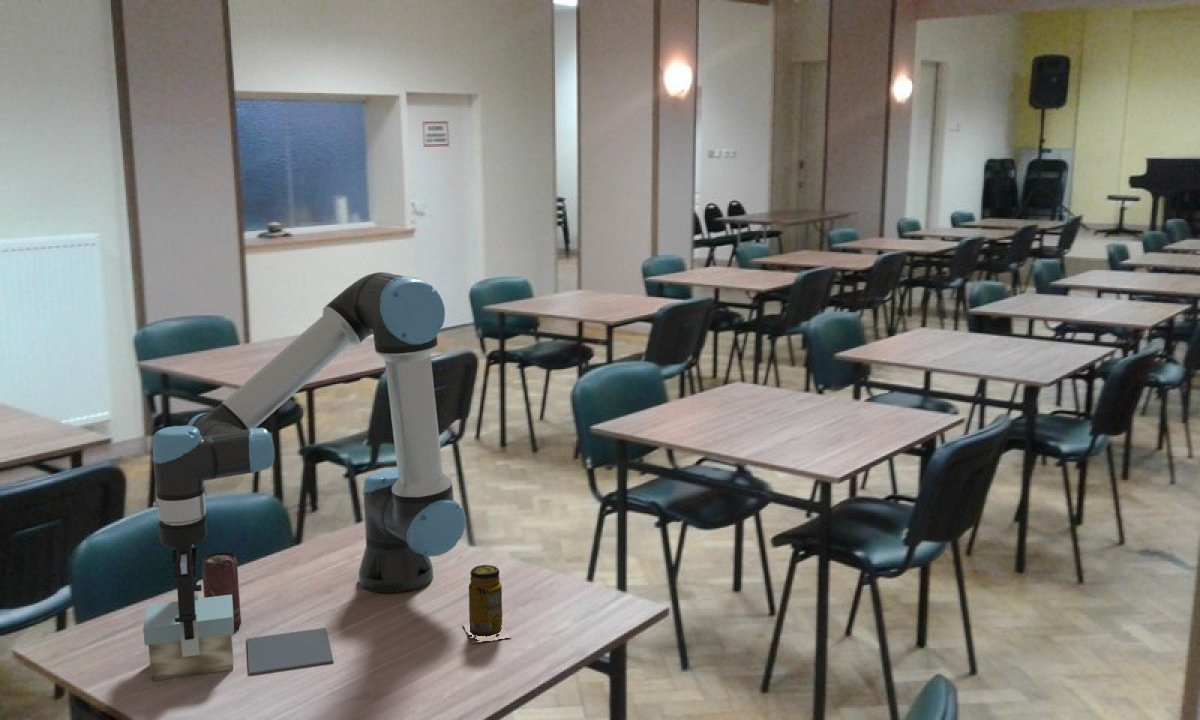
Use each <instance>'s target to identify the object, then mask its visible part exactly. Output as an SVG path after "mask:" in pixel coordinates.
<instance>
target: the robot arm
mask: <svg viewBox="0 0 1200 720" xmlns="http://www.w3.org/2000/svg"><path fill="white" fill-rule="evenodd" d="M322 309H323V310H322V316H321V317H319V318H318V319H317V320H316V321H315V322H313V323H312V324H311V325H310V326H309V327H308V328H307V329H306V330H305V331H303V332H302V333H301V334H300V335H298V337H297V338H296V339H294V340H293V341H292V342H290V344H288V345H287V346H286V347H285V348H284V349H282V350H281V351H280V352H279V353H278V354H277V355H275V356H274V358H272V359H271V360H270V361H268V363H266V364H265V365H264V366H263V367H262V368H260V369H259V371H257V372H256V373H255V374H253V376H252V377H250V378H249V379H248V380H247V381H246V382H245V383H243V384H242V385H241V386H240V387H239V388H237V389H236V390H235V391H234V392H233V393H231V395H229V396H228V397H227V398H226V399H225V400H224V401H222V402H221V403H220V404H219V405H217V406H216V407H215V408H214V409H213V410H212V411H210V412H202V413H199V414H197V415H195V416H193V417H192V418H191V419H190V420H189V422H188V423H187V425H173V426H168V427H163V428H161V429H159V430H157V431H156V432H155V433H154V434H153V436H152V457H151V459H152V460H151V461H153V472H154V480H155V491H156V501H154V502H153V503H152V506H153V508H157V516H158V520H159V523H158V532H159V533H158V536H159V542H160V543H161V545H163V546H165V547H168V548H169V547H170V548H174V549H172V555H171V561H172V564H173V566H174V567H173V571H174V580H175V581H176V587H177V601H178V608H179V617H178V618H175V622H180V635H181V648H182V657H187V656H194V655H199V639H198V626H197V617H196V614H195V599H199V592H202V590H203V587H202V584H198V577H197V575H198V574H197V573H198V572H197V567H198V556H199V554H198V553H199V552H198V547H197V546H194V545H199V544H200V543H202V542H204V541H205V540H206V539H207V537H208V526H207V518H206V517H205V515H206V512H207V511H206V494H205V487H204V483H205V482H206V481H211V480H216V479H223V478H228V477H229V478H230V477H235V476H241V475H247V474H254V473H257V472H262V471H265V470H269V469H270V468H271V467H272V466H273V463H274V461H275V446H274V441H273V438H272V435H271V433H270V432H269V430H268V429H266V428H264V427H259V425H261V424H262V423H263V422H264V421H265V420H267V418H269V417H270V416H271V415H272V414H273V413H275V411H277V409H279V408H280V407H281V406H282V405H283V404H285V403H286V402H287V401H288V400H290V399H291V397H293V396H294V395H295V394H296V393H297V392H299V390H300V389H302V387H304V386H306V384H307V383H309V381H310V380H312V379H313V378H314V377H316V375H318V374H319V373H320V372H321V371H322V370H323V369H324V368H326V366H328V365H329V364H330V363H331V362H332V361H334V360H335V358H337V357H338V356H339V355H340V354H341V353H343V352H344V351H345V350H346V349H347V348H348V347H349V346H358V345H360V344H361V343H362V342H363V341H364V340H365V339H366V338H368V337H370V336H372V335H373V343H374V350H375V351H374V352H375V353H376V354H377V355H378V356H380V357H381V358H383V360H384V365H385V366H384V367H385V372H386V373H385V375H386V383H387V390H388V391H387V393H388V398H389V400H388V401H389V408H390V409H389V410H390V415H391V416H390V417H391V426H392V435H393V442H394V449H395V450H394V451H395V460H396V469H395V468H394V469H388V470H383V471H377V472H374V473H371V474H369V475H368V476H366V478H365V479H364V481H363V492H362V495H363V506H364V507H363V508H364V525H365V543H366V544H365V545H366V546H365V548H364V553H363V555H362V559H361V562H360V567H359V568H358V569H359V570H358V583H359V585H360V586H361V587H362V588H364V590H367V591H370V592H375V593H383V594H394V593H396V594H398V593H404V592H405V593H406V592H411V591H414V590H417V589H420V588H422V587H424V586H427V585H429V583H431V582H432V580H433V578H434V566H433V564H432V561H431V557H438V556H442V555H444V554H446V553H448V552H450V551H451V550H452V549H453V548H455V547H456V546H457V544H458V542H459V541H460V540H461V539H462V537H463V535H464V533H465V531H466V524H467V521H466V520H467V518H466V514H465V511H464V509H463V508H462V506H461V505H460V504H459V503H458V502H456V500H454V499H455V498H454V489H453V481H452V478H450V477H449V476H448V475H447V474H445V473H444V471H443V470H444V469H443V461H442V452H441V451H442V450H441V441H440V433H439V424H438V414H437V404H436V402H437V401H436V394H435V385H434V376H433V375H434V373H433V366H432V365H433V364H432V357H431V356H432V353H433V352H435V350H436V348H437V347H438V343H439V342H438V334H440V330H441V328H443V326H444V322H445V317H446V310H445V305H444V301H443V299H442V297H441V295H440V293H439V291H437V290H436V288H435V287H433V286H432V285H431V284H429V283H428V282H426V281H423V280H421V279H419V278H417V277H414V276H408V275H407V276H406V275H399V274H393V273H390V272H386V271H385V272H384V271H383V272H381V271H379V272H374V273H370V274H367V275H365V276H363V277H361V278H359V279H357V280H356V281H355V282H353V283H352V284H351V285H349V286H348V287H347V288H345V289H344V290H343V291H342V292H341V293H339V294H338V295H337V296H335V297H334V298H333V299H332V300H331V301H330V302H328V303H327V304H326V306H324V307H323V308H322Z"/></svg>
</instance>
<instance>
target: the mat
mask: <svg viewBox="0 0 1200 720" xmlns="http://www.w3.org/2000/svg"><path fill="white" fill-rule="evenodd" d="M328 635H329V634H328V631H327V627H321V628H320V627H319V628H314V629H307V630H300V631H299V630H298V631H293V632H291V631H290V632H285V633H278V634H270V635H263V636H256V637H249V638H246V644H247V645H246V646H247V663H248V665H247V666H248V676H252V675H258V674H259V675H260V674H266V673H267V674H268V673H273V672H279V671H287V670H293V669H300V668H306V667H312V666H313V667H314V666H319V665H320V666H321V665H327V664H333V663H334V657H333V652H332V649H331V644H330V639H329V636H328Z"/></svg>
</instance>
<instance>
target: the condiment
mask: <svg viewBox="0 0 1200 720" xmlns="http://www.w3.org/2000/svg"><path fill="white" fill-rule="evenodd" d="M502 590H503V587H502V583H501V581H500V569H499V568H498V567H497V566H496V565H490V564H481V565H477V566H474V567H473V568H471V570H470V583H469V584H468V607H469V609H468V613H469V614H468V615H469V616H468V617H469V619H468V620H469V624H470V632H471V633H472V634H473V635H477V636H486V637H487V636H491V635H494V634H497V633H499V632H500V631H501V629H502V627H501V626H502V625H503V599H502V598H503V597H502V596H503V591H502ZM466 635H467V636H468V638H469V640H470V639H471V640H470V642H471V644H482V642H480V643H478V642H477V641H479V640H477V639H475V638H470V637H472V635H468V634H466Z"/></svg>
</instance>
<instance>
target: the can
mask: <svg viewBox="0 0 1200 720" xmlns="http://www.w3.org/2000/svg"><path fill="white" fill-rule="evenodd" d="M201 570H202V571H201V572H202V573H201V574H202V585H203V586H202V589H203V598H207V597H215V596H223V595H231V594H232V601H233V621H234V632H236V631H237V630H239V629H240V627H241V625H242V618H241V617H242V616H241V601H240V600H241V599H240V587H239V586H240V585H239V572H238V559H237V558H236V556H235V554H234V553H230V552H216V553H212V554H208V555H207V556H205V557H204V558H203V560H202V562H201Z"/></svg>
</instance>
